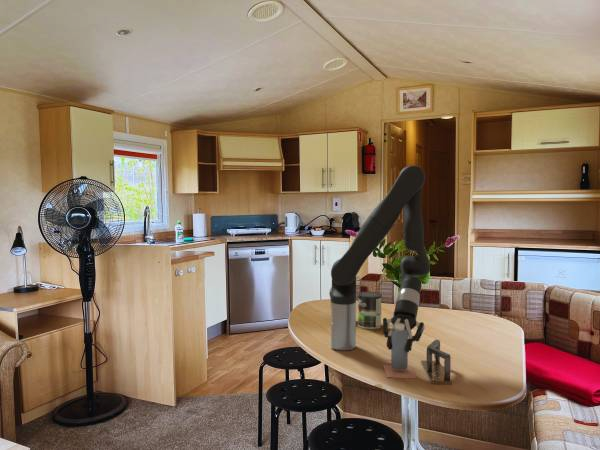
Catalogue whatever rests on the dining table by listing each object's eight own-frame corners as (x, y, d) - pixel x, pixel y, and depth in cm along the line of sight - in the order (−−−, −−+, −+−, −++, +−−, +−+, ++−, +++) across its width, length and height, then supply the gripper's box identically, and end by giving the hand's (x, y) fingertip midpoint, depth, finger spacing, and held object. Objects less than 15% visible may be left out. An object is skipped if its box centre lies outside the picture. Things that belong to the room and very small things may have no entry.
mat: (387, 377, 147) (387, 376, 147) (383, 365, 157) (383, 364, 157) (415, 378, 146) (416, 377, 146) (410, 366, 156) (410, 365, 156)
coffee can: (365, 330, 196) (365, 297, 195) (353, 324, 206) (353, 292, 205) (386, 327, 201) (386, 295, 200) (373, 321, 210) (373, 290, 209)
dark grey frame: (431, 384, 142) (432, 356, 141) (421, 363, 159) (421, 338, 158) (451, 384, 142) (452, 356, 141) (438, 363, 159) (439, 338, 158)
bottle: (392, 369, 149) (392, 326, 148) (390, 363, 154) (390, 321, 153) (408, 369, 149) (409, 326, 148) (406, 363, 154) (406, 322, 153)
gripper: (384, 296, 160) (374, 341, 150) (427, 300, 153) (419, 347, 144) (388, 308, 165) (378, 352, 155) (430, 312, 159) (422, 358, 149)
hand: (398, 349), depth 149 cm, fingers closed on bottle, 5 cm apart
